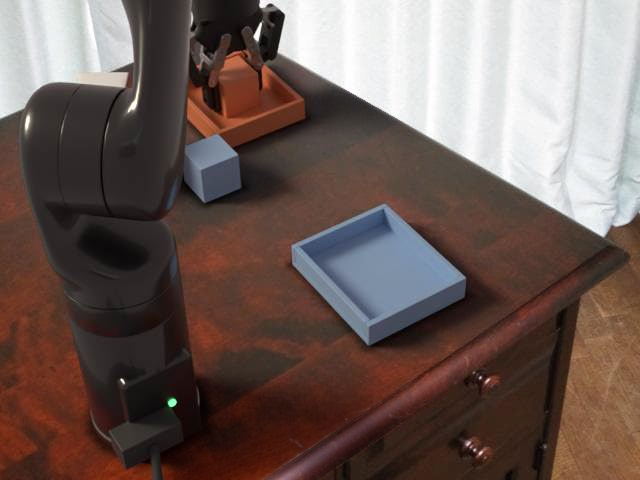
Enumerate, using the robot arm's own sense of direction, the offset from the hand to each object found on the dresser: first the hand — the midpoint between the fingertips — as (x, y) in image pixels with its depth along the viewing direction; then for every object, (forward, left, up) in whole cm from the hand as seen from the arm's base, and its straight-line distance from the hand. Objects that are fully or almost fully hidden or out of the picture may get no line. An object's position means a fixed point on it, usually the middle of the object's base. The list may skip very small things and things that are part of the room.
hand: (233, 100), depth 133 cm
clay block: (0, 0, 0) cm, 0 cm away
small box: (-3, +17, -1) cm, 17 cm away
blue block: (-11, +9, -1) cm, 14 cm away
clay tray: (0, 0, -1) cm, 1 cm away
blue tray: (-33, +3, -1) cm, 33 cm away
